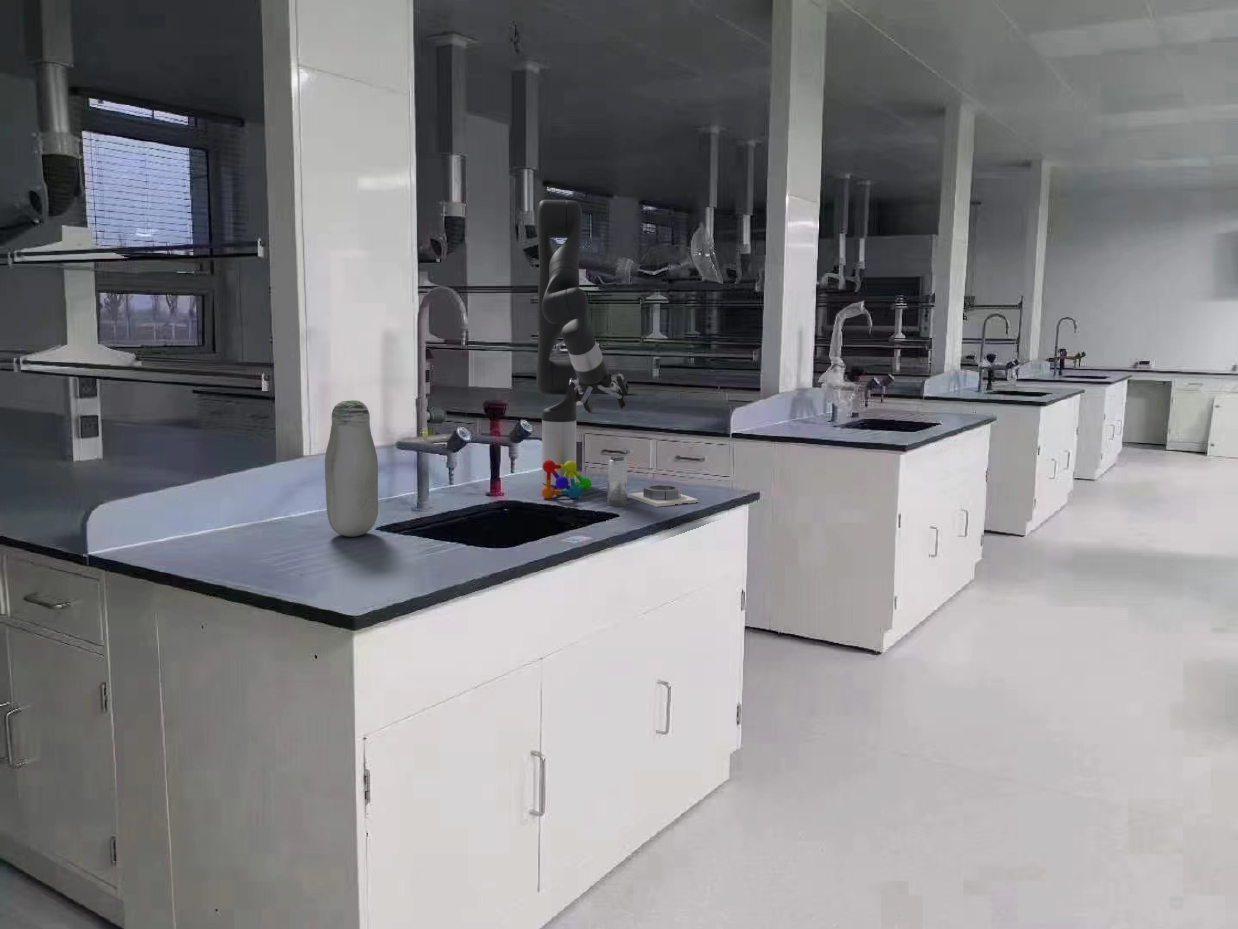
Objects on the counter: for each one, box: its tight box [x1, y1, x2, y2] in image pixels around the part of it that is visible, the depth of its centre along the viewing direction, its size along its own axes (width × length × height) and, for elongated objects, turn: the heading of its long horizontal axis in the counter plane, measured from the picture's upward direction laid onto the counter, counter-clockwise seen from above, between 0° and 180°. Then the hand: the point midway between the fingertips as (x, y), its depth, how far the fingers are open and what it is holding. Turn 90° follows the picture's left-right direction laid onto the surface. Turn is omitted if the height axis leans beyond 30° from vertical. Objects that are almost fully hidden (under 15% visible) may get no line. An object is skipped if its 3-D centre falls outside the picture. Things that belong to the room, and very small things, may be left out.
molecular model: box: [541, 460, 593, 500], centre depth 244 cm, size 11×10×15 cm
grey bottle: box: [324, 399, 379, 538], centre depth 199 cm, size 10×10×28 cm
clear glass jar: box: [607, 455, 628, 507], centre depth 236 cm, size 5×5×12 cm
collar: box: [643, 483, 682, 500], centre depth 243 cm, size 9×9×2 cm
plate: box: [626, 491, 699, 508], centre depth 243 cm, size 14×12×1 cm
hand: (606, 408), depth 243 cm, fingers open, 8 cm apart
